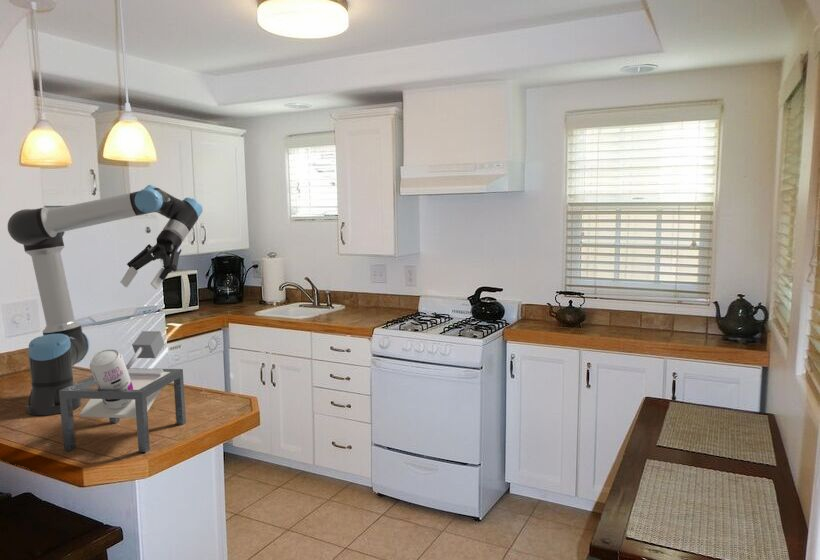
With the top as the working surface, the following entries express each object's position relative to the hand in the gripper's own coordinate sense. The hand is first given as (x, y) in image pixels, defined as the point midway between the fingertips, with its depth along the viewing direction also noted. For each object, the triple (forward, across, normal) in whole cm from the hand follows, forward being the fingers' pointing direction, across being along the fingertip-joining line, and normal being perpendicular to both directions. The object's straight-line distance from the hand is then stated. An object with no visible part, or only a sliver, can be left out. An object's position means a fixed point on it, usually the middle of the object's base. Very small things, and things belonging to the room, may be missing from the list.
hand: (138, 285), depth 196 cm
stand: (+43, -17, -13) cm, 48 cm away
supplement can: (+37, -18, -3) cm, 41 cm away
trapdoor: (+27, -14, -10) cm, 32 cm away
